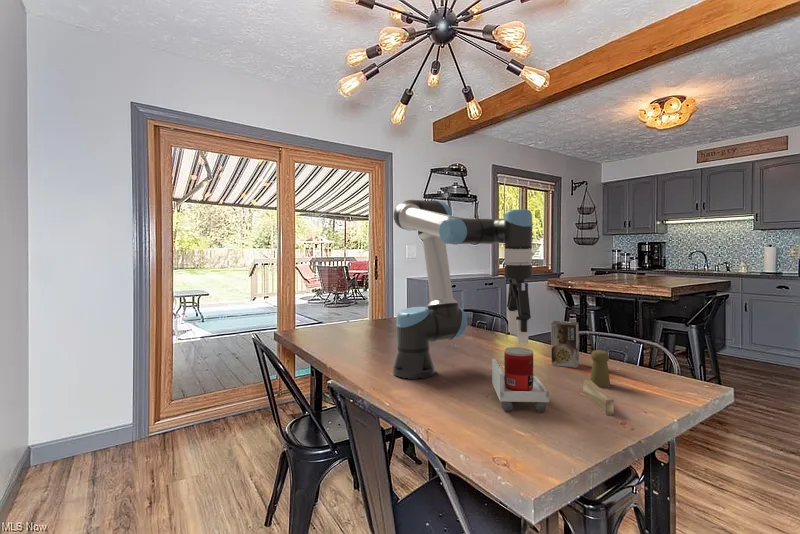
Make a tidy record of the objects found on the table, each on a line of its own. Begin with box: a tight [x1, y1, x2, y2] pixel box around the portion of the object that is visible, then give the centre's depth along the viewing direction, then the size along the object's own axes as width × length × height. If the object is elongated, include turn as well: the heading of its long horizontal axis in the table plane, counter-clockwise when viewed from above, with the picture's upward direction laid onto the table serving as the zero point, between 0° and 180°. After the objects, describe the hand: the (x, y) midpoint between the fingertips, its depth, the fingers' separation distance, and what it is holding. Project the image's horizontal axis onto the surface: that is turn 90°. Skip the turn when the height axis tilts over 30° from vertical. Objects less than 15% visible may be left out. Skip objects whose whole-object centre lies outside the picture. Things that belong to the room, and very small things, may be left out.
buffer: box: [582, 379, 615, 416], centre depth 113 cm, size 2×16×4 cm, turn 175°
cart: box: [491, 358, 550, 413], centre depth 115 cm, size 13×15×10 cm
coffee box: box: [550, 320, 580, 369], centre depth 150 cm, size 9×6×16 cm
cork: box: [589, 349, 611, 389], centre depth 128 cm, size 6×6×11 cm
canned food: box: [503, 346, 534, 391], centre depth 115 cm, size 8×8×11 cm
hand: (517, 337), depth 114 cm, fingers open, 13 cm apart
